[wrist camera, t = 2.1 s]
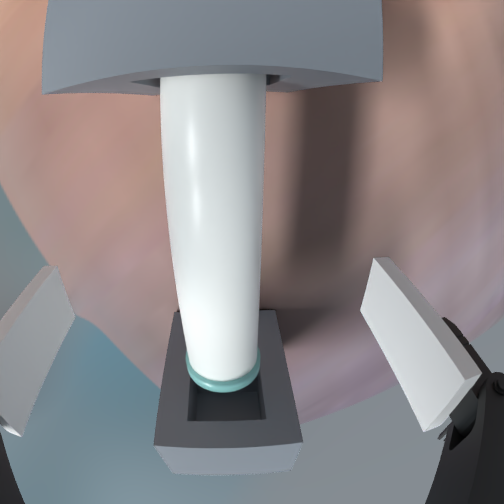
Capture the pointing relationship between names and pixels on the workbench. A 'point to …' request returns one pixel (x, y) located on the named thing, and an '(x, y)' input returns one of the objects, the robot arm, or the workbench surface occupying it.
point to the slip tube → (216, 219)
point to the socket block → (228, 414)
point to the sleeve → (209, 43)
